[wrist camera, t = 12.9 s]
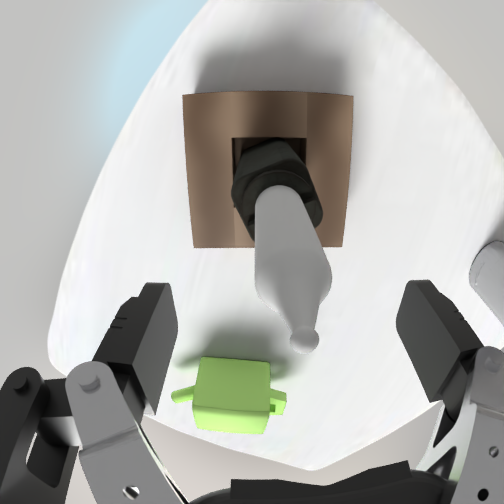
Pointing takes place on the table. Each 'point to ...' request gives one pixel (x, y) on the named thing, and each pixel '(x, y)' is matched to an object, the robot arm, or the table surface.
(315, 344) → the candle
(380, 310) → the table surface
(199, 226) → the holder
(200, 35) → the table surface
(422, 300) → the robot arm
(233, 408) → the green square pitcher
